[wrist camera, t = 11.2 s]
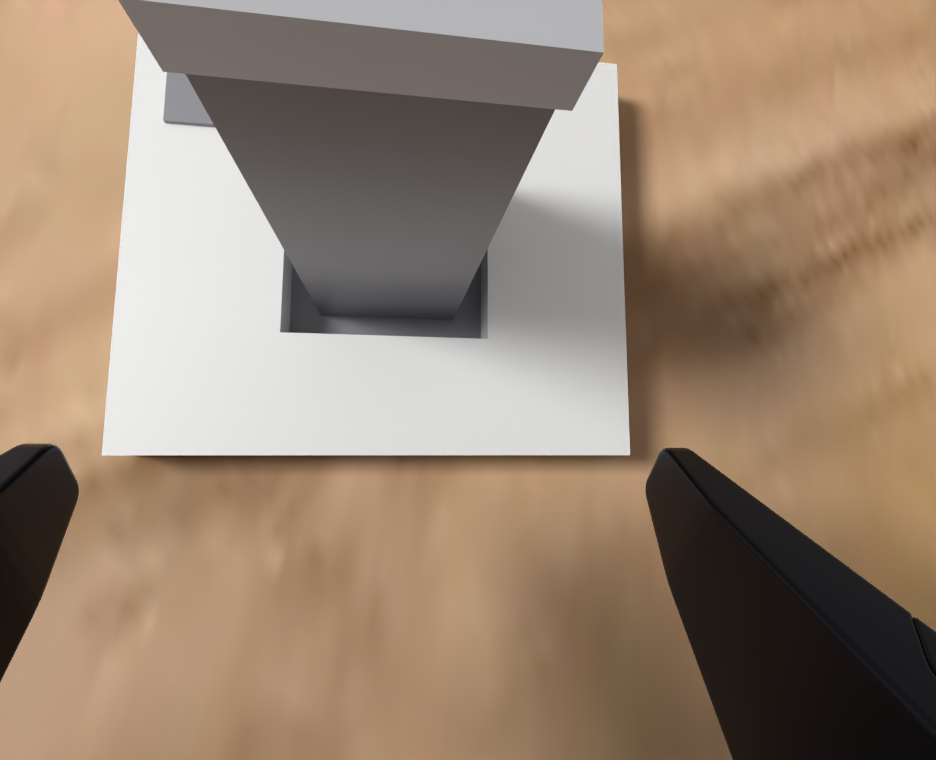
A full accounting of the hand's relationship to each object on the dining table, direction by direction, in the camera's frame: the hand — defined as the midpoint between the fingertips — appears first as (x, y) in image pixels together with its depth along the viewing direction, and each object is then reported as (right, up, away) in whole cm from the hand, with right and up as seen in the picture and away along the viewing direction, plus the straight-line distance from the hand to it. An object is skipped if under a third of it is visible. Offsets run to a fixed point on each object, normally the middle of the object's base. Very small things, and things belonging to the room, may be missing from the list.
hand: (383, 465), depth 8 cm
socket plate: (-2, +6, +10) cm, 12 cm away
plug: (-1, +6, +10) cm, 12 cm away
